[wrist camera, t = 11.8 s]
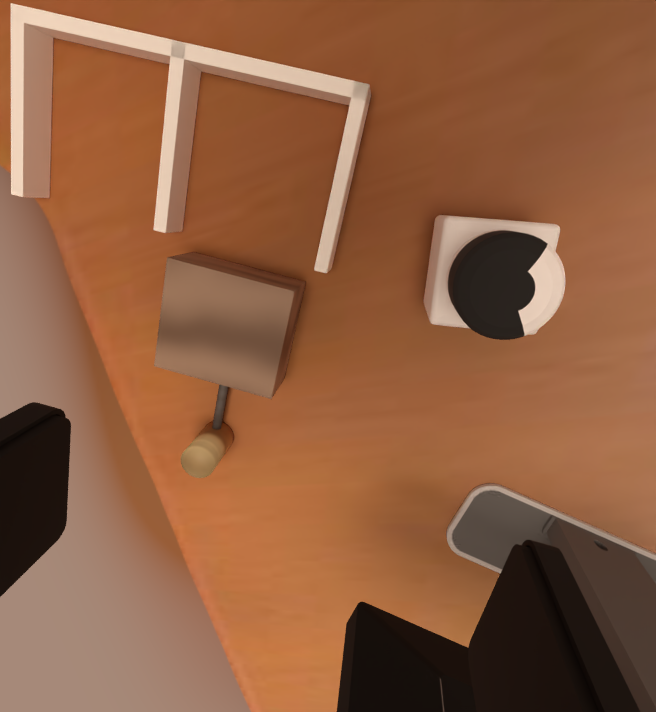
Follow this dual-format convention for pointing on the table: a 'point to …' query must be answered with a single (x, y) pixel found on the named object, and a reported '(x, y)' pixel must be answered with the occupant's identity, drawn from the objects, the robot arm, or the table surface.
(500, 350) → the table surface
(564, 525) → the computer monitor
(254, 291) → the brown handled block
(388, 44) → the table surface
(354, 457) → the table surface
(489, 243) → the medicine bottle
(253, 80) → the lane organiser
